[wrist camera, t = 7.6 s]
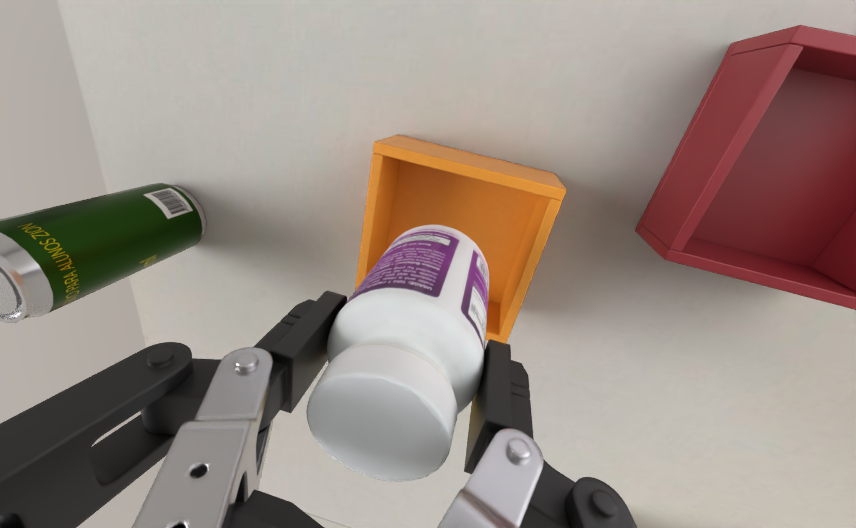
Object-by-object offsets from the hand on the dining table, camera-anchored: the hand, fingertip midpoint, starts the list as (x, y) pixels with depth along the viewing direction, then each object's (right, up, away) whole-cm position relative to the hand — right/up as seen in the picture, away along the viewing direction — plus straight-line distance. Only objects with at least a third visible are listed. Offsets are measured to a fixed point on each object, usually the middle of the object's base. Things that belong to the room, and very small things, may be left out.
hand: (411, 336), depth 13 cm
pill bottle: (+1, +2, +5) cm, 6 cm away
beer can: (-20, +7, +16) cm, 26 cm away
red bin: (+19, +8, +6) cm, 22 cm away
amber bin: (+2, +5, +11) cm, 13 cm away
